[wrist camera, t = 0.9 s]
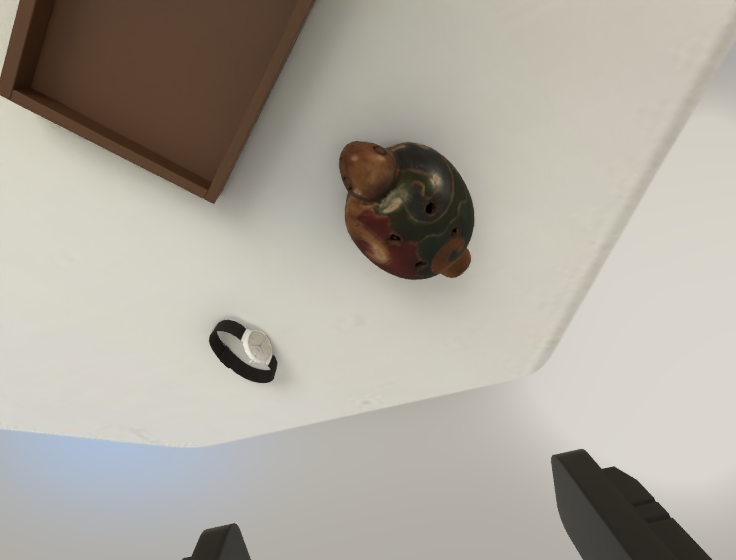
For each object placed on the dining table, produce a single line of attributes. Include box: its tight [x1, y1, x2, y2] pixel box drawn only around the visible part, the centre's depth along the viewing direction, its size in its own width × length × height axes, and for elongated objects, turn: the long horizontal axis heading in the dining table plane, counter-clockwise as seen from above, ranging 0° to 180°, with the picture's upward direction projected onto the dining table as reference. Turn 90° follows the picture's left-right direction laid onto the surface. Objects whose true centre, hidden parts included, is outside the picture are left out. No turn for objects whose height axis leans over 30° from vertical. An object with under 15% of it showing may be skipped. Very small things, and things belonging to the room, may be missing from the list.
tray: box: [0, 0, 316, 204], centre depth 27 cm, size 15×21×3 cm
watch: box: [209, 320, 277, 383], centre depth 40 cm, size 8×5×4 cm, turn 34°
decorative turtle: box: [339, 141, 474, 280], centre depth 33 cm, size 10×15×8 cm, turn 48°
